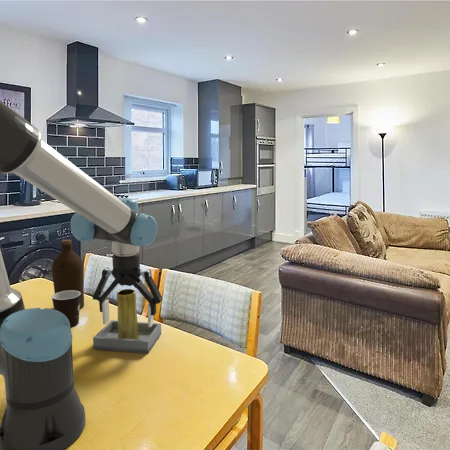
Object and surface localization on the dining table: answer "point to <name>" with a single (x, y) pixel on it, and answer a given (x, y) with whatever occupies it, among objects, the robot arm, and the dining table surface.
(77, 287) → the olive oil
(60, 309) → the coffee mug
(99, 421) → the dining table surface
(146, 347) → the tray
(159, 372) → the dining table surface
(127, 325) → the vase
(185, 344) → the dining table surface
